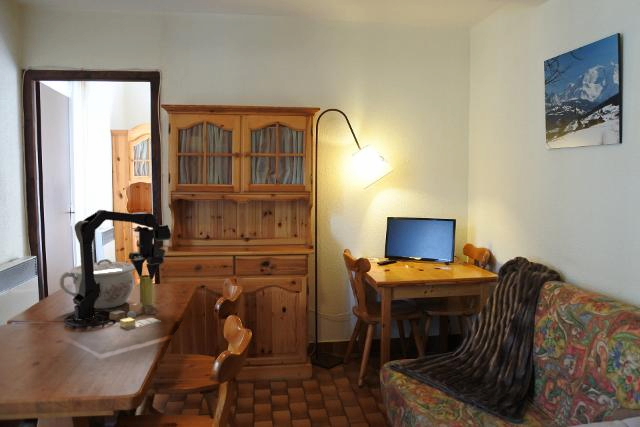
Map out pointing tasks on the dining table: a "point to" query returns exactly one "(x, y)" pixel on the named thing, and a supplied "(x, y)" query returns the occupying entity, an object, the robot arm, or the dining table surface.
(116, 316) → the walnut cube
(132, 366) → the dining table surface
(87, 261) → the robot arm
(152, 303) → the vase
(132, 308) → the peach rounded capsule
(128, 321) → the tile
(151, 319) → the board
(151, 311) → the walnut cube
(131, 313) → the grey ball
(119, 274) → the chamber pot
